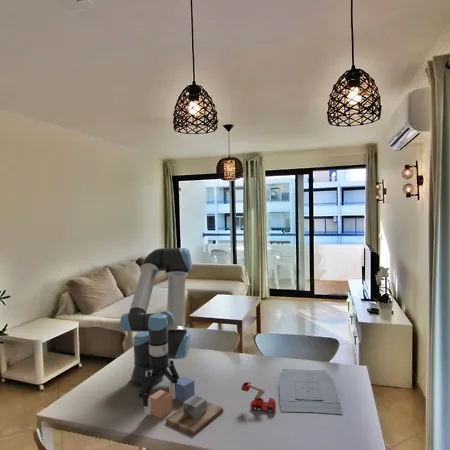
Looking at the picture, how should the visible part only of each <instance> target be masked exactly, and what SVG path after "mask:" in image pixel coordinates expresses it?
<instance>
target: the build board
mask: <svg viewBox="0 0 450 450" xmlns="http://www.w3.org/2000/svg"><path fill="white" fill-rule="evenodd" d="M182 404H183V405H182V406H183V407H181V408H180V409H178V410H177V411H175V412H174V413H173V414H170V415H169V416H168V417H166V418H165V424H168V425H170V426H172V427H174V428H177V429H179V430H181V431H182V432H185V433H188V434H189V435H191V436H195V435H197V433H199V432H200V431H201V430H203V429H204V428H205V427H206V426H207V425H208V424H210V423H212V421H213V420H215V419H216V418H217V417H219V415H221V414H222V413H223V412H224V408H223V407H221V406H219V405H216V404H213V403H211V402H208V401H207V399H205V398H203V397H200V396H198V395H193V396H192V397H190V398H189V399H187V400H186V401H184V402H183V401H182Z"/></svg>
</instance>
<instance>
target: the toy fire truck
mask: <svg viewBox="0 0 450 450" xmlns="http://www.w3.org/2000/svg"><path fill="white" fill-rule="evenodd" d="M251 383H252V382H250V381H248V382H243V384H242V385H241V391H243V392H249V390H250V389H253V390H255V391H258V392H257V393H256V395H255V396H254V398H253V399H252V400H251V402H250V409H252V410H255V411H256V410H258V411H259V412H260V411H265V412H269V413H274V412H276V409H277V408H276V407H277V403H276V400H275V399H274V398H273V397H269V399H268V401H264V398H262V396H263V395H265V391H266V390H264V389H263V387H261V388H260V387H257V386H256V385H253V384H251Z"/></svg>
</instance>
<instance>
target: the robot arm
mask: <svg viewBox="0 0 450 450" xmlns="http://www.w3.org/2000/svg"><path fill="white" fill-rule="evenodd" d="M192 267H193V265H192V257H191V252H190V250H189V249H188V248H186V247H185V248H183V247H172V248H171V247H170V248H164V247H163V248H157V249H154V250H152V251H151V252H150V253H149V254H148V255H147V256H146V257H144V259H143V260H142V263H141V265H140V269H139V270H140V271H139V272H140V275H139V279H138V282H137V285H136V289H135V291H134V295H133V297H132V298H133V299H132V302H131V304H130V307H129V311H128V312H126V313H123V314H122V315H121V317H120V321H119V323H120V324H119V326H120V329H121V331H123V332H127V333H128V332H131V333H133V332H137V333H136V334H135V335H134V337H133V358H134V359H133V360H134V362H133V363H134V367H133V370H132V374H131V384H132V385H134V386H136V387H140V389H139V393H138V396H137V397H138V398H139V399H142V405H143V409H144V414H146V415H149V416H150V415H152V414H151V407H150V397H149V396H151V392H152V391H153V388H154V386H155V385H157V384H159V383H160V382H162V381H163V379H164V377H166V378H167V380H169V382H168V391H169V392H168V393H170V394H172V400H176V398H175V389H176V383H177V382H178V379H180V376H179V374H178V371H177V370H176V367H175V365H174V364H175V363H174V360H178V359H179V360H180V359H181V360H183V359H185V358H186V357H187V355H188V353H189V349H190V345H191V334H190V333H189V332H188V329H187V328H186V327H185V298H186V297H185V296H186V277H187V276H188V275H189V272H190V271H192ZM160 272H165V275H166V276H167V277H168V281H167V298H166V299H167V305H166V310H163V311H161V312H157V313H154V312H153V313H151V312H150V313H147V312H148V308H149V304H150V300H151V298H152V292H153V289H154V286H155V282H156V278H157V277H158V275H159V274H160Z"/></svg>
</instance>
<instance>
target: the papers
mask: <svg viewBox="0 0 450 450" xmlns="http://www.w3.org/2000/svg"><path fill="white" fill-rule="evenodd" d="M281 370H282V371H281V372H280V373H279V377H278V389H279V407H280V412H282V413H283V412H284V413H286V412H288V413H291V412H292V413H320V414H332V415H343V411H342V406H341V403H340V402H341V401H340V399H339V398H340V397H339V395H338V392H337V389H336V385H335V382H334V379H333V378H332V377H331V374H328V372H327V370H325V369H321V370H319V369H295V368H294V369H292V368H291V369H290V368H289V369H288V368H284V369H283V368H282V369H281Z"/></svg>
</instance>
